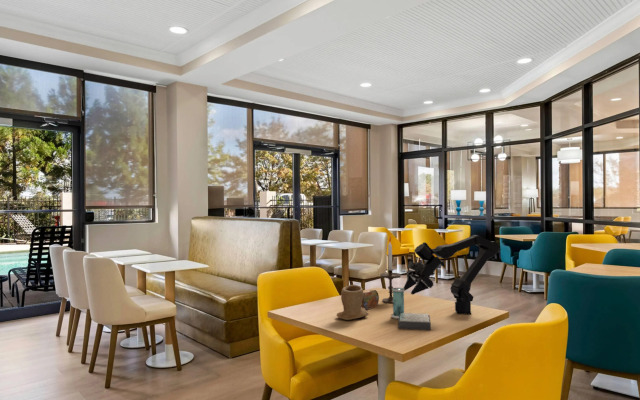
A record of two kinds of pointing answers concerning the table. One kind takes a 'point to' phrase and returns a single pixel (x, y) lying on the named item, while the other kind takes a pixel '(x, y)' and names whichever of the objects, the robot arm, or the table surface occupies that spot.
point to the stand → (414, 321)
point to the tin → (370, 299)
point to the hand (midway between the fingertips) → (407, 291)
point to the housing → (398, 302)
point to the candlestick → (390, 275)
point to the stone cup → (352, 303)
